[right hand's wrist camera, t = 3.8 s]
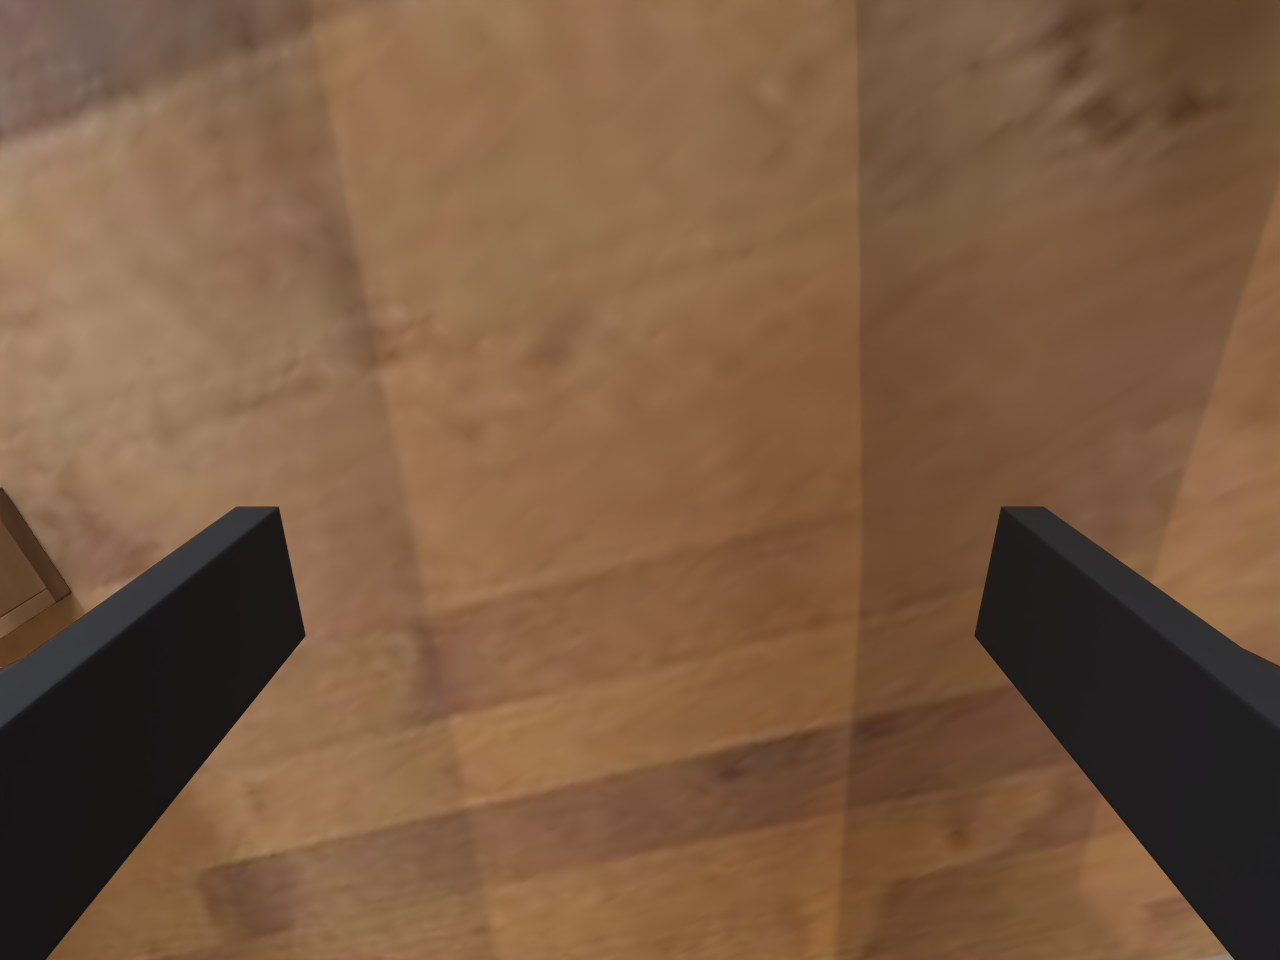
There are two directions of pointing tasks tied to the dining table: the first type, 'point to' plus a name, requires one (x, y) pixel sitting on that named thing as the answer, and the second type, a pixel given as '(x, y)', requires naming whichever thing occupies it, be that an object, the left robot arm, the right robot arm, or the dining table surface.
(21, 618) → the chest
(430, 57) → the dining table surface
